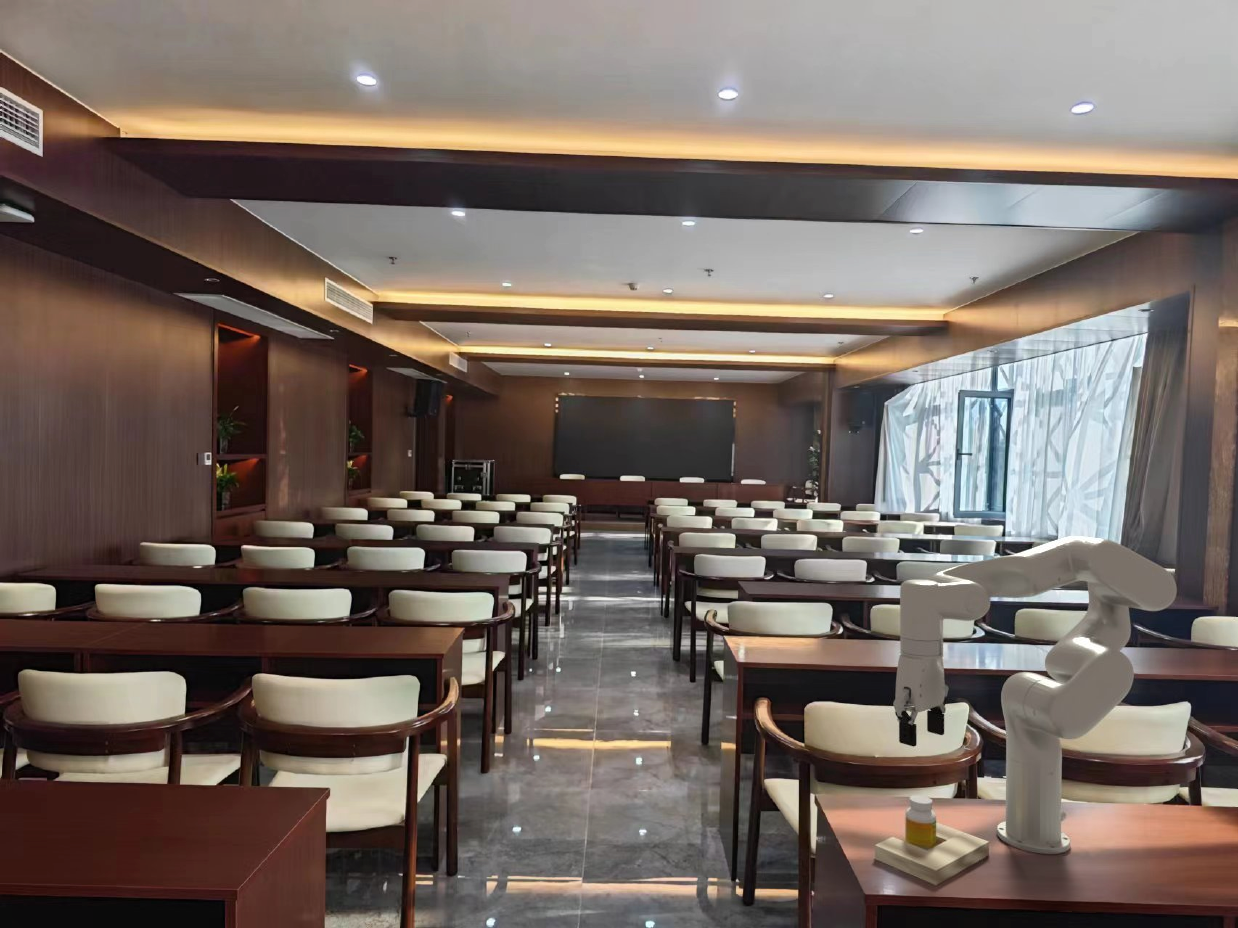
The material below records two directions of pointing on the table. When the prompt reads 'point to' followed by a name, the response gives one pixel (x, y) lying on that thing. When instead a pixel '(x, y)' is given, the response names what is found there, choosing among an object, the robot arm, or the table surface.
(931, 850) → the notched board
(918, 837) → the supplement bottle
